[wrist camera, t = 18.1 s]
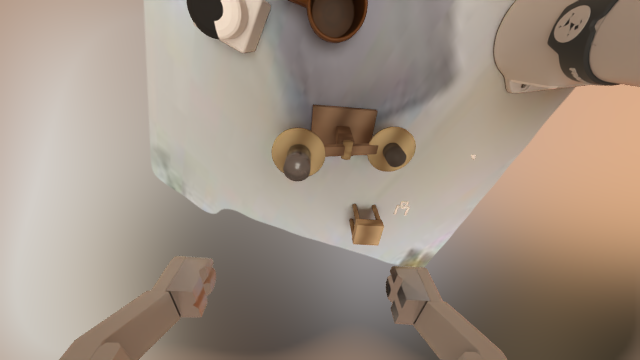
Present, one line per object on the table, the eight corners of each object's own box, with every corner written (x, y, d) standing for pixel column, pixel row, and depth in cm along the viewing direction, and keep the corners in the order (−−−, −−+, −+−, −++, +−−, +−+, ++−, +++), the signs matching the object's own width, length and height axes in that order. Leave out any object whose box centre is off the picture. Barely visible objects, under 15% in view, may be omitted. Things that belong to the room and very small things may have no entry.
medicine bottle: (212, 26, 36) (171, 22, 26) (226, -25, 33) (186, -54, 23) (255, 52, 38) (232, 56, 28) (272, 5, 35) (253, -8, 25)
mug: (276, 23, 36) (264, 19, 28) (286, -39, 32) (276, -65, 24) (347, 48, 38) (355, 51, 30) (364, -8, 34) (379, -22, 26)
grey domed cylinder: (311, 144, 33) (311, 158, 30) (310, 166, 35) (309, 182, 32) (287, 143, 33) (283, 156, 29) (286, 164, 35) (283, 180, 31)
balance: (405, 112, 44) (434, 136, 33) (393, 154, 48) (415, 187, 38) (282, 101, 42) (270, 123, 32) (282, 146, 47) (272, 178, 36)
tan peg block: (376, 204, 56) (383, 226, 49) (371, 222, 59) (378, 245, 52) (352, 203, 55) (357, 225, 49) (349, 221, 58) (353, 244, 52)
